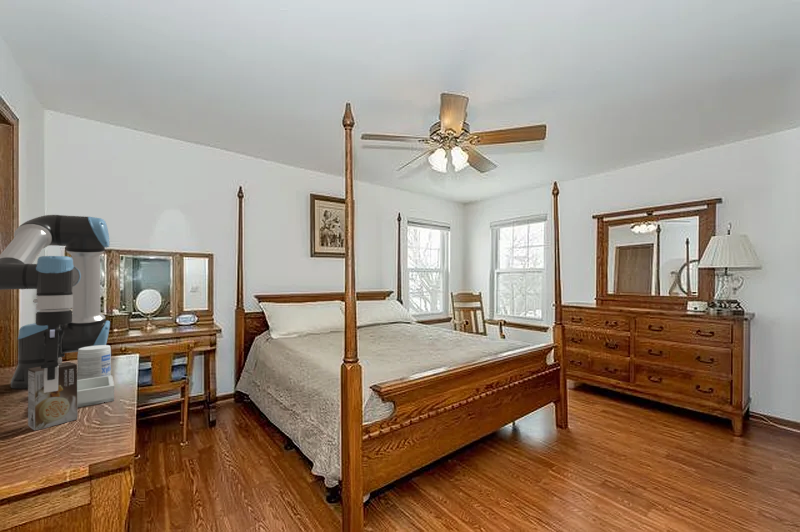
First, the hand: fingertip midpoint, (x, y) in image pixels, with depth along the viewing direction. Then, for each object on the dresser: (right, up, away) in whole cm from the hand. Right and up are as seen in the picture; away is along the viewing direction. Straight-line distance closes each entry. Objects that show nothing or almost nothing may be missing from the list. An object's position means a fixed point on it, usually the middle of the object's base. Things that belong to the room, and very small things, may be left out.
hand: (53, 385), depth 103 cm
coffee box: (0, -11, 0) cm, 11 cm away
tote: (-8, -11, +18) cm, 23 cm away
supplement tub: (-15, -11, +32) cm, 37 cm away
